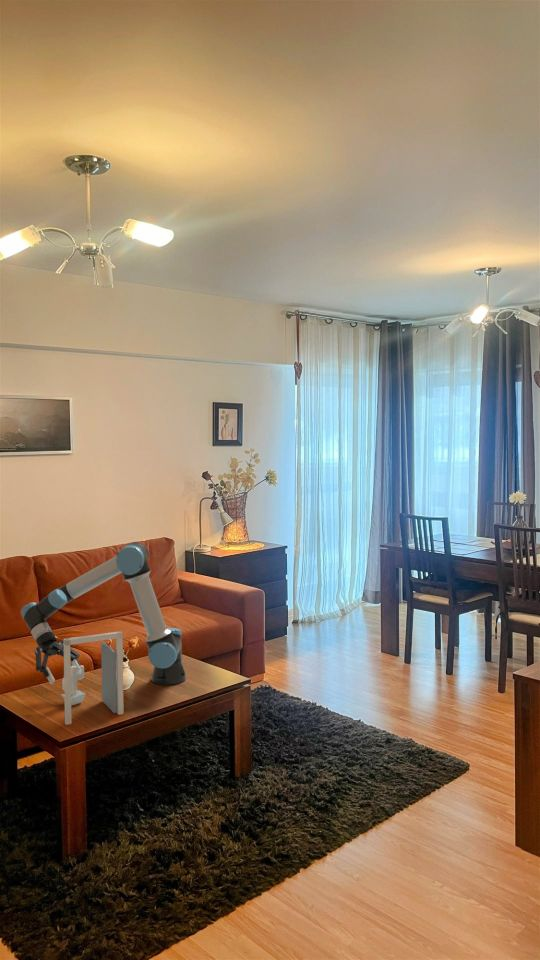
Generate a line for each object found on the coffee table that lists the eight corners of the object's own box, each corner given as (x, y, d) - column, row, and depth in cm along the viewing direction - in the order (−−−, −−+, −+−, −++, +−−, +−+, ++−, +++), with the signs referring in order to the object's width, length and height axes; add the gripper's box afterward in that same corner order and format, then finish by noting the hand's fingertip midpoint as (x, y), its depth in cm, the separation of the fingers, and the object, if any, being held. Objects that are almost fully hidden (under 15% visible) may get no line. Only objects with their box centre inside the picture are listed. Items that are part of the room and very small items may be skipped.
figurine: (58, 703, 281) (57, 667, 280) (78, 697, 288) (78, 661, 287) (68, 708, 276) (67, 670, 275) (88, 701, 283) (88, 665, 282)
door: (120, 711, 270) (119, 651, 269) (113, 713, 269) (112, 652, 268) (108, 699, 284) (107, 641, 284) (102, 700, 283) (101, 642, 282)
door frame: (122, 712, 271) (120, 631, 270) (123, 713, 269) (122, 632, 268) (64, 723, 260) (63, 638, 259) (66, 724, 259) (64, 640, 257)
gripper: (64, 635, 303) (87, 675, 294) (13, 648, 283) (36, 691, 274) (72, 624, 299) (95, 665, 291) (21, 637, 279) (44, 681, 271)
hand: (67, 678), depth 283 cm, fingers open, 13 cm apart
